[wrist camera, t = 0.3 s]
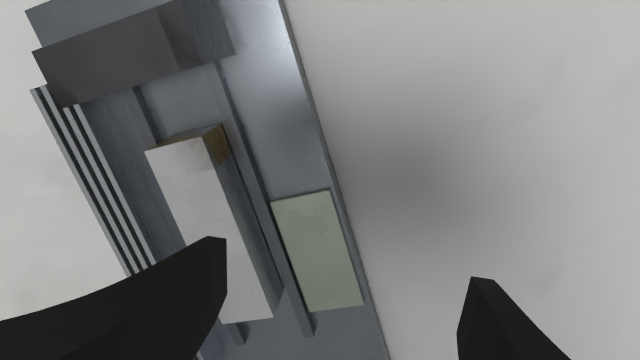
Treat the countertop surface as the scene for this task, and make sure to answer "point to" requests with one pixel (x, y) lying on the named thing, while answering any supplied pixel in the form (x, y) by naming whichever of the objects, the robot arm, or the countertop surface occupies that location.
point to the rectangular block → (218, 216)
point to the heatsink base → (244, 142)
